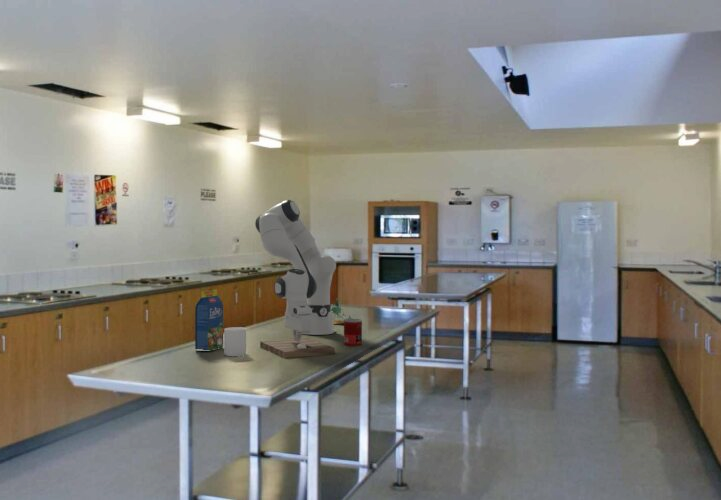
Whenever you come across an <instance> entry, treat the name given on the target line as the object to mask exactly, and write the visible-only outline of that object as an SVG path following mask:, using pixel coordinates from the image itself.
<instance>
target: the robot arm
mask: <svg viewBox="0 0 721 500" xmlns="http://www.w3.org/2000/svg"><path fill="white" fill-rule="evenodd" d="M300 213H301V212H300V209H299V207H298V204H297V203H296V202H295V201H293V200H292V199H286V200H283V201H282V202H280V203H278V204H275V205H273V206H272V207H270V208H269V209H267V210H266V211H264V212H263V213H262V214H259V216H258V217H257V218H256V220H255V223H254V224H255V228H256V230H257V231H258V233H259V234H260V238H261V242H262V246H263V248H264V250H265V252H267V253H268V254H269V255H271V256H274V257H278V258H281V259H284V260H286V261H288V262H290V263H291V265H292V266H293V268H291V269H289V270H287V272H286V274H285V275H282V276H279V277H278V278H277V279H276V280H275V282H274V285H273V286H274V287H273V288H274V293H275V295H276V296H277V297H278V298H279V299H286V310H285V313H284V327H285V328H288V329H290V330H292V335H293V339H294V340H295V341H300V340H301V338H302V335H313V336H314V335H315V336H317V335H318V336H319V335H320V336H321V335H322V336H323V335H325V336H326V335H331V334H334V333H337V329H335V327H334V326H335V324H334V322H333V320H334V316H333V315H334V314H333V313H331V312H332V311H331V310H332V306H331V284H332V280H333V276H334V272H335V271H336V268H337V262H336V261H335V260H336V259H334V257H332V256H331V255H329V254H327V253H322V252H321V251H320V250H319V247H318V246H317V244H316V240H315V237H314V236H313V234H312V233H311V232H310V230H309V229H308V227H307V226H306V225H305V223H304V221H302V220H301V218H300V215H301V214H300Z"/></svg>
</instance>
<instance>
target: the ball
mask: <svg viewBox="0 0 721 500" xmlns="http://www.w3.org/2000/svg"><path fill="white" fill-rule="evenodd" d="M297 348H299V349H302V348H307V347H306V345H305V344H303V343H300V344H298V346H297Z"/></svg>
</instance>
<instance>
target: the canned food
mask: <svg viewBox="0 0 721 500" xmlns="http://www.w3.org/2000/svg"><path fill="white" fill-rule="evenodd" d="M343 320H344V323H343V343H344V345H345V346H350V347H357V346H361V345H362V342H363V320H362V319H361V318H352V319H348V318H345V319H343Z"/></svg>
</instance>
